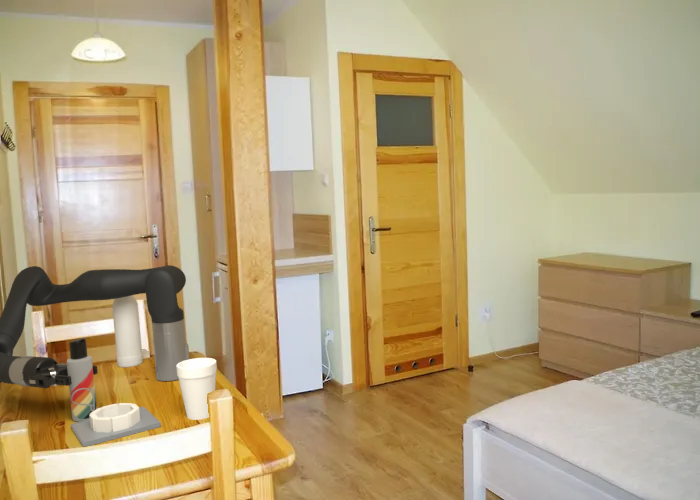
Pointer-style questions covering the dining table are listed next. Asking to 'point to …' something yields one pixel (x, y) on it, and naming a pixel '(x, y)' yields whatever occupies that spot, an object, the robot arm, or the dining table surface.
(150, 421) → the socket
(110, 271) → the robot arm
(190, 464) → the dining table surface
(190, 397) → the foam cup
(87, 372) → the lotion bottle
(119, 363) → the bottle
